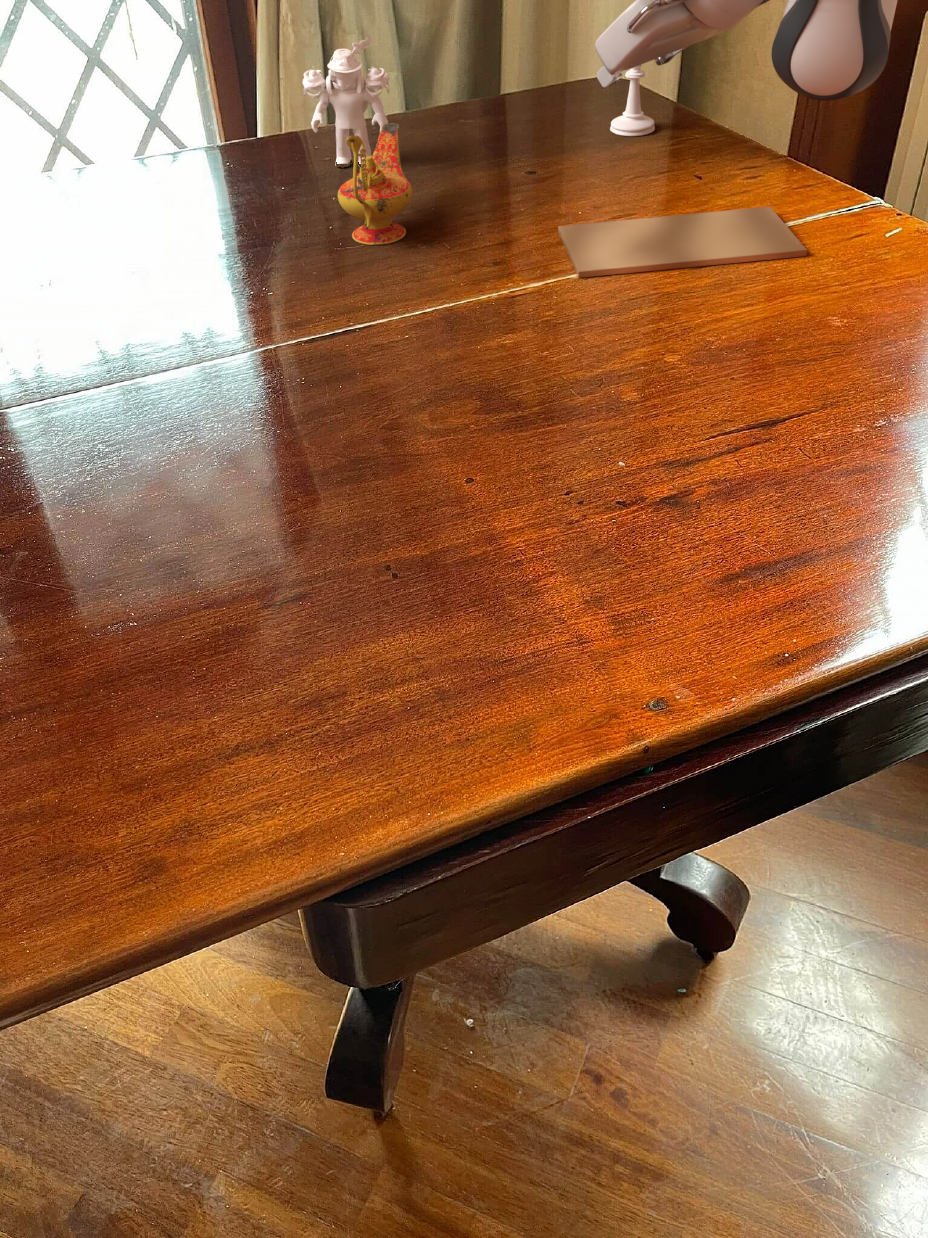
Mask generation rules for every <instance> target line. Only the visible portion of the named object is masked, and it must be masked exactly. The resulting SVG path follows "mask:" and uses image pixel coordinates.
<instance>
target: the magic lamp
mask: <svg viewBox="0 0 928 1238" xmlns="http://www.w3.org/2000/svg"><path fill="white" fill-rule="evenodd" d="M399 135H400V125H399V124H398V123H397V122H391V123H389V122H388V124H385V125H384V126H383V127H382V129H381V132H380V131H379V135H378V138H377V142H376V145H375V147H374V150H373V153H372V156H367V157H366V155H365V153H366V150H365V149H364V144H363V141H362V139H361V138H360V137H359V136H357V135H354V134H353V135H352V134H351V135H349V137H348V138H347V140H346V143H347V145H348V146H349V147H350V150H351V152H352V153H353V169H352V170H353V171H352V178H350V179H349V180H347V181H345V182H344V183H343V184H341V186H340V187H339V188H338V192H337V200H338V203H339V205H340V207H341V208H342V210H344V211H345V212H346V213H347V214H349V215H350V216H351V217H354V218H357V219H360V220H363V221H364V223H363V224H362V225H361V226H359V227H357V228H356V229H354V230H353V232H352V234H351V237H352V239H353V241H355V242H356V243H359V244H362V245H365V246H366V245H367V246H382V245H388V244H392V243H395V242H398V241H400V240H402V239H403V238H404V237H405V236H406V234H407V230H406V228H405V227H404V226H403V225H401V224H399V223H395V222H393V221H392V220H391V218H393V217H394V216H397V215H398V214H400V213H402V212H403V211H404V210H405V209H406V208H407V207H408V205H409V204H410V202H411V201H412V196H413V188H412V185H411V183H410V181H409V180H408V179H407V177H406V175H405V174H404V171H403V169H402V164H401V156H400V138H399V137H400V136H399ZM361 144H362V149H361V150H360V147H361ZM359 150H360V154H359ZM361 152H362V153H361ZM358 156H360V159H361V161H360V163H361V167H360V166H359V172H358ZM364 156H365V157H364ZM362 158H364V159H362ZM364 161H365V162H364Z"/></svg>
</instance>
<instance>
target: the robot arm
mask: <svg viewBox="0 0 928 1238" xmlns="http://www.w3.org/2000/svg"><path fill="white" fill-rule="evenodd" d="M770 1H771V0H634V1H633V2H632V3H631V4H629V5H628V7H626V9H624V10H623V12H621V13H620V15H618V16H617V18H616V19H614V20H613V22H611V23H610V25H609V26H608V27H607V28H606V29H604V30H603V32H602V33H601V34H600V35H599V36H598V37H597V39H596V41H595V44H594V50H595V52H596V54H597V57H598V58H599V60H600V62H601V63H602V66H601V67H600V68H599V69H598V71H596V78H597V80H598V82H599V83H600V85H601V87H603V88H607V87H610V86H613V85H614V84H616V83H617V81H618V80H620V79H621V78H622V77H623V74H622V73H623V72H627V71H630V69H631V68H634V67H636V66H639V65H641V64H642V65H643V64H646V63H648V62H651V61H655V64H656V65H657V66H663V65H665V64H668V63H670V62H671V61H672V60H673V59H674V58H675V57H676V56H677V55H678V54H680V53H681V52H683V51H684V50H685V49H687V48H689V47H690V46H692V45H695V44H698V43H700V42H703V41H705V40H708V39H711V38H713V37H716V36H719V35H720V34H723V33H724V32H726V31H727V30H732V29H733V28H735V27H736V26H737V25H739V24H740V23H741V22H742V21H743V20H744V19H745V18H746V17H748V16H749V15H750V14H751V13H752V12H753V11H754V10H755V9H757V8H758V7H760V6H762V5H764V4H766V3H768V2H770ZM898 1H899V0H787V2H786V5H785V9H784V13H783V15H782V19H781V21H780V22H779V26H778V28H777V30H776V32H775V33H776V34H775V36H774V40H773V42H772V47H771V62H772V65H773V68H774V70H775V73H776V74H777V76H778V77H779V78H780V80H781V81H782V82H783V83H784V84H785V85H786V86H787V87H788V88H789V89H791V90H792V91H793V92H795V93H796V94H798V95H800V96H803V97H805V98H807V99H810V100H814V101H819V102H820V101H821V102H827V101H836V100H841V99H844V98H848V97H850V96H853V95H855V94H858V93H860V92H862V91H864V90H865V89H867V88H868V87H869V86H871V85H872V84H873V83H874V82H875V81H876V80H877V79H878V78H879V77H880V76H881V74H882V72H883V71H884V69H885V67H886V65H887V62H888V58H889V51H890V43H891V35H892V34H891V31H892V29H893V28H892V27H893V23H894V18H895V13H896V8H897V5H898ZM642 65H641V66H642Z"/></svg>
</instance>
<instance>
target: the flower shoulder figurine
mask: <svg viewBox="0 0 928 1238" xmlns="http://www.w3.org/2000/svg"><path fill="white" fill-rule="evenodd" d="M371 40H372V38H371V37H369V36H365V39H362V40H359V42H352V44H351V45H352V47H353V49H352V50H351V49H348V48H337V49H335V51H334V52H333V55H332V56H331V58H330V60H329V62H328V63H327V65H326V66H327V68H328V75H327V76H326V77H325V78H324V76H323V74H322V73H321V72H322V70H321V69H308V70H306V71H305V72H303V77H304V78H303V79H302V85H303V87H304V88H303V90H302V93H303V96H306V94H307V95H308V96H309V97H310V98H311V99H313V100H317V99H319V100H318V102H317V104H316V107H315V110H314V113H313V116H312V120H311V122H310V123H311V129H312V131H313V132H314V133H315V134H317V132H319V128H318V126H319V125H320V124H321V125H324V118H325V117H324V113H325V112H326V111H327V109H328V107H329V105H330V104H331V106H332V108H333V110H334V112H335V122H334V127H335V143H336V145H335V146H336V147H335V148H336V153H335V154H336V159H335V163H336V162H337V164H348V163H349V162H350V160H351V159H352V160H353V157H352V153H351V152H352V151H351V148H350V147H349V146H348V145H347V143H346V140H347V138H348V137H349V136H350V130H351V129H352V133H353V136H354V135H357V136H359V137H360V138H361V139H362V141H363V144H364V149H365V150H366V153H365V155H366V157H367V156H372V155H373V153H372V150H371V145H370V141H369V135H368V134H369V133H368V128H367V125H368V124H367V121H366V118H365V112H366V111H367V110H368V107H369V105H370V106H371V109H372V110H373V112H374V115H373V117H372V118H371V119H372V120H371V126H375V123H378V125H379V133H380V132H381V129H382V127H383V126H384V125H385V124H389V121H388V118H387V116H386V112H385V109H384V106H383V103H382V101H381V99H380V98H379V96H380V95H381V94H382V92H383V90H384V88H385V89H386V92H387V94H390V84H389V81H390V77H389V75H388V74H387V73H386V69H384V68H382V67H379V68H378V67H374V65H371V67H370V68H368V69H367V71H368V73H367V76H366V77H365V76H364V74H362V73H363V72H362V66H363V63H362V61H360V60H359V59H358V58H357V56H356V55H362V50H365V49H369V47H368V45H371V42H370V41H371ZM312 68H315V66H312ZM380 70H381V71H380ZM375 90H379V91H375ZM311 91H312V92H313V91H314V92H318V93H315V94H314V93H310V92H311ZM361 149H362V144H361V147H360V150H361ZM360 150H359V154H360ZM361 153H362V152H361ZM364 157H365V156H364ZM362 159H364V158H362ZM360 161H361V159H360V156H358V160H357V163H358V162H359V164H361V163H360ZM364 162H365V161H364Z"/></svg>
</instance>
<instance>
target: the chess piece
mask: <svg viewBox="0 0 928 1238" xmlns="http://www.w3.org/2000/svg"><path fill="white" fill-rule="evenodd" d="M642 66H643V64H641V65H639V66H636V67H634V68H631V69H629V70H626V71H625V74H624V75H625V76H624V77H625V78H628V79H629V89H628V94H627V100H626V106H625V111H623V112H622V115H619V116H617V117H614V118H613V119H612V120H611V122H610V127H609V131H610V132H611V133H613V134H614V135H617V136H621V137H641V136H645V135H646V136H647V135H649V134H651V133H653V132H654V131H655V130H656V127H655V120H654V119H653V118H652V117H650V116H647V115H644V114H645V112H644V111H643V110H642V106H641V105H642V104H641V92H640V91H641V89H640V87H641V86H640V79H642V78H644V77H645V76H646V71H644V70H642V69H641V67H642Z"/></svg>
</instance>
